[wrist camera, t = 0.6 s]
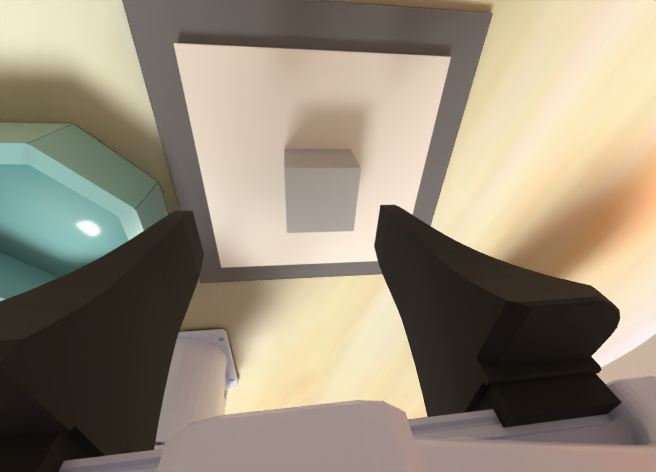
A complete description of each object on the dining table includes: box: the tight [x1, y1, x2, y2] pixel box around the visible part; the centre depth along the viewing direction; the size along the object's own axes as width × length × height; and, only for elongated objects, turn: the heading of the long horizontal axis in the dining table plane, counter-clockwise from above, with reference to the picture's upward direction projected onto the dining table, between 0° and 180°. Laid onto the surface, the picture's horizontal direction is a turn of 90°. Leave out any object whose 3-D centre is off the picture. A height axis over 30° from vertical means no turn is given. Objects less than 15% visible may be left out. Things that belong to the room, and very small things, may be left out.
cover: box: [173, 43, 451, 268], centre depth 18 cm, size 14×14×4 cm
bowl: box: [0, 122, 169, 301], centre depth 18 cm, size 12×12×4 cm
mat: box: [122, 0, 493, 283], centre depth 19 cm, size 18×18×1 cm
